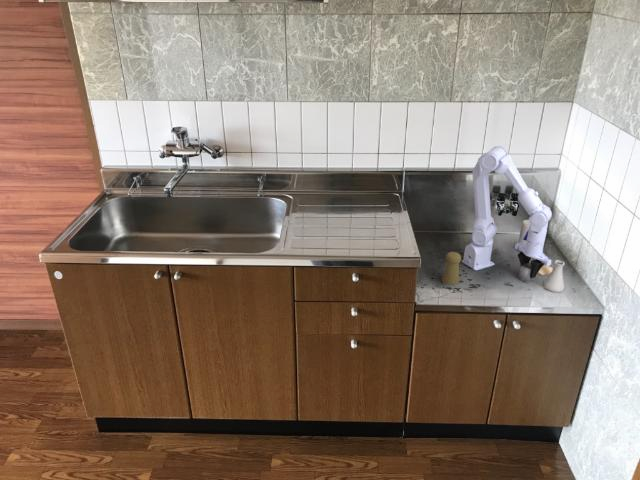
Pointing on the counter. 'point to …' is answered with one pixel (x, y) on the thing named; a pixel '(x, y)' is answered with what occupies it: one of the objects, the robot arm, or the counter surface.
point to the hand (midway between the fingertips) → (528, 274)
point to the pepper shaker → (451, 269)
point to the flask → (555, 278)
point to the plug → (525, 273)
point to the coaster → (545, 270)
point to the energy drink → (524, 232)
